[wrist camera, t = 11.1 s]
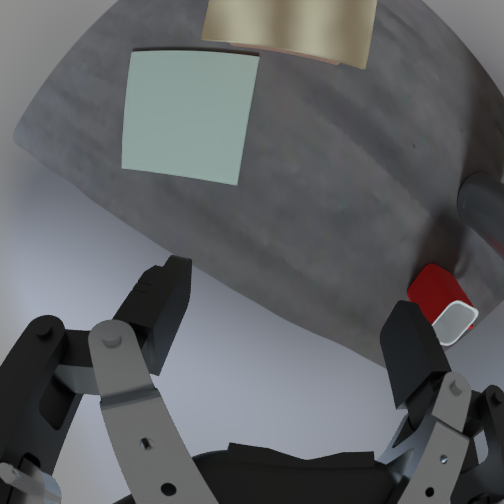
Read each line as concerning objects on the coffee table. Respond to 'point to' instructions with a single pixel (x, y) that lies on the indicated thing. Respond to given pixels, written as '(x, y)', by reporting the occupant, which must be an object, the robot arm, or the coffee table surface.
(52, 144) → the coffee table surface
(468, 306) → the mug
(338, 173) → the coffee table surface
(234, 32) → the lid
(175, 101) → the mat
